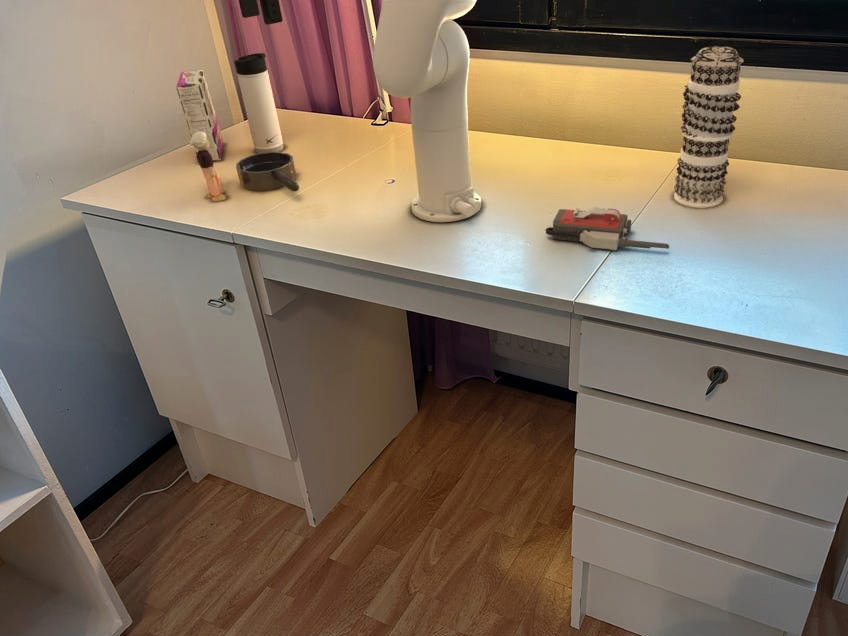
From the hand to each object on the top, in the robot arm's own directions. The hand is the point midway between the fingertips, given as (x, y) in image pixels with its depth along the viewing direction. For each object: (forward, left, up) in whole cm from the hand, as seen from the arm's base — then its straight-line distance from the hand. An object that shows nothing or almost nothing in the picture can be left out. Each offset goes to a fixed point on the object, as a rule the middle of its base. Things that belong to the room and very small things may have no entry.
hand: (262, 19), depth 130 cm
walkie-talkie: (-61, -28, -30) cm, 73 cm away
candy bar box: (+26, +8, -30) cm, 40 cm away
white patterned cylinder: (-60, -51, -30) cm, 84 cm away
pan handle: (-7, +5, -27) cm, 29 cm away
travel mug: (+19, -3, -30) cm, 35 cm away
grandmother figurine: (+2, +16, -30) cm, 34 cm away
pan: (+2, +5, -30) cm, 30 cm away
